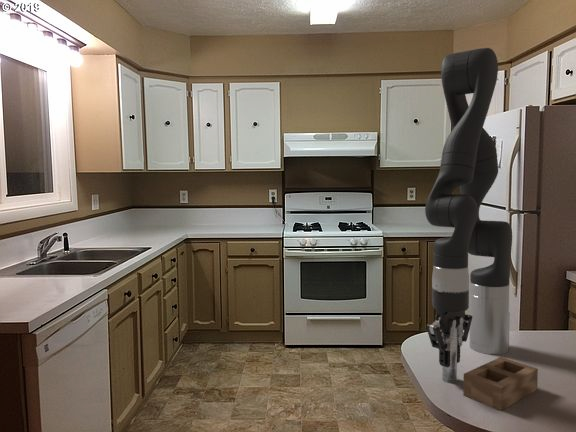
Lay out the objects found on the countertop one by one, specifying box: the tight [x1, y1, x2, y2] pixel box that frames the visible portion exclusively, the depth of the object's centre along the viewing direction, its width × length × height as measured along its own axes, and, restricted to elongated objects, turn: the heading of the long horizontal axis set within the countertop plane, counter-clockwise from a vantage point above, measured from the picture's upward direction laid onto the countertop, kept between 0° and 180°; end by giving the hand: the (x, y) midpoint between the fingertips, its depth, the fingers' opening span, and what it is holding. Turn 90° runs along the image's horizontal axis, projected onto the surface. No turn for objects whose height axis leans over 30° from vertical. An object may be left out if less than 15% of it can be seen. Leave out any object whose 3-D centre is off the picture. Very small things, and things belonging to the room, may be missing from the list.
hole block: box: [462, 356, 539, 411], centre depth 94 cm, size 14×8×4 cm, turn 126°
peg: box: [441, 327, 458, 384], centre depth 100 cm, size 3×3×12 cm
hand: (449, 363), depth 100 cm, fingers closed on peg, 3 cm apart
